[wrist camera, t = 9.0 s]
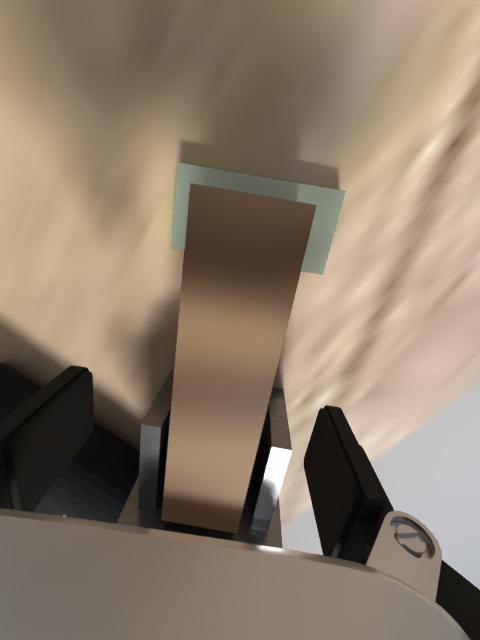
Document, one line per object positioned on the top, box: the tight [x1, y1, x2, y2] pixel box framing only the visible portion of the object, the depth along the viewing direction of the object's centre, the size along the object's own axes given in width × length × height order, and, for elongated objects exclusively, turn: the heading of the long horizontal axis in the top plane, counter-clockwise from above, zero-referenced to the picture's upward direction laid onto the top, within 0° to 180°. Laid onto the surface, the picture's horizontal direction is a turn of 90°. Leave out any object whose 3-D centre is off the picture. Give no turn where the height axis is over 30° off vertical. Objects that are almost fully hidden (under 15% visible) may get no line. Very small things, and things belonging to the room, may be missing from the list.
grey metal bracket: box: [116, 371, 292, 548], centre depth 15 cm, size 7×9×9 cm
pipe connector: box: [0, 363, 140, 524], centre depth 19 cm, size 12×5×15 cm
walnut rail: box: [161, 183, 317, 533], centre depth 14 cm, size 16×4×5 cm, turn 171°
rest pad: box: [171, 162, 345, 275], centre depth 14 cm, size 4×8×1 cm, turn 81°
